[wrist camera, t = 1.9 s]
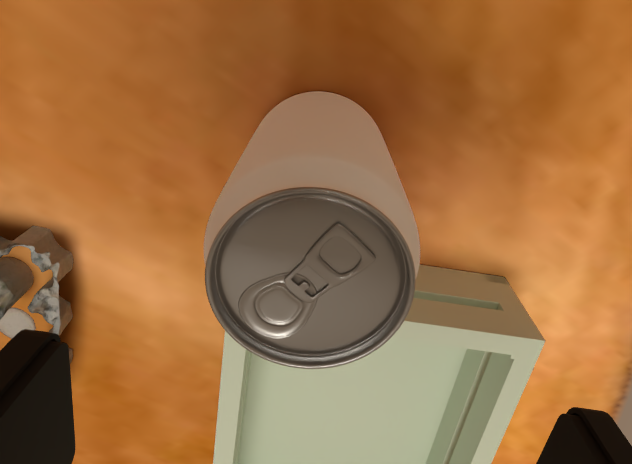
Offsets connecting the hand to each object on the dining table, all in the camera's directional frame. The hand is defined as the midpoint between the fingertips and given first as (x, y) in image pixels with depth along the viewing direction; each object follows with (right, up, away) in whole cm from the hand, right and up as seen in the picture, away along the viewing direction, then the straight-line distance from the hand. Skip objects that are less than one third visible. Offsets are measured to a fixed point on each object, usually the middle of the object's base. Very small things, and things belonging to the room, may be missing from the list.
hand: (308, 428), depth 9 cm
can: (0, +8, +15) cm, 16 cm away
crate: (+2, -6, +21) cm, 21 cm away
